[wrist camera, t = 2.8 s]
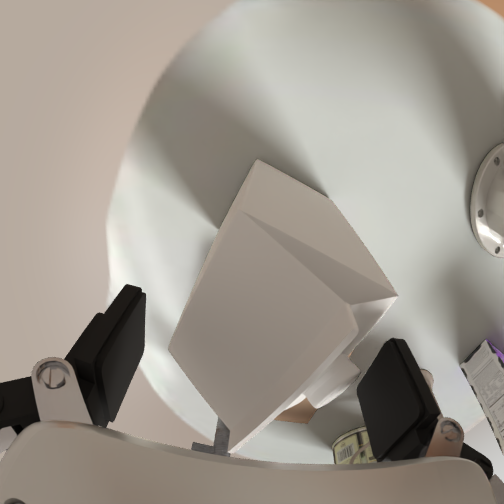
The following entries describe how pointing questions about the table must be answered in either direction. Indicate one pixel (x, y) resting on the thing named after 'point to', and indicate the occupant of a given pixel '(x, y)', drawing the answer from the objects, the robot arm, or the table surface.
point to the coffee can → (353, 447)
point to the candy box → (488, 384)
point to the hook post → (216, 441)
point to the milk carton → (278, 305)
